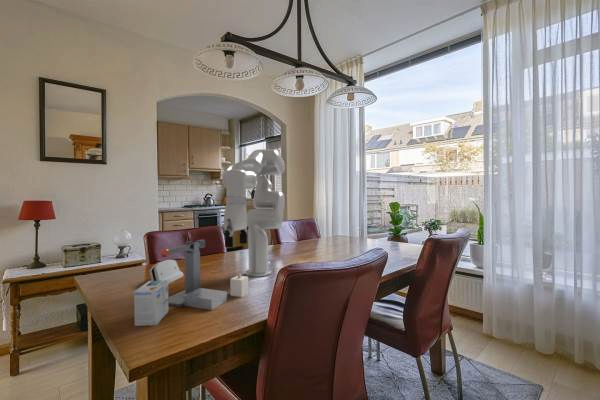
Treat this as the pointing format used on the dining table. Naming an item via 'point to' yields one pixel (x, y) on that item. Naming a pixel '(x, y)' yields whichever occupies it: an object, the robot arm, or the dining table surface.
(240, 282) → the block
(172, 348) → the dining table surface
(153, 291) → the light bulb box
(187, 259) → the frame
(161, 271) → the white slotted curved casing
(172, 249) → the lever
